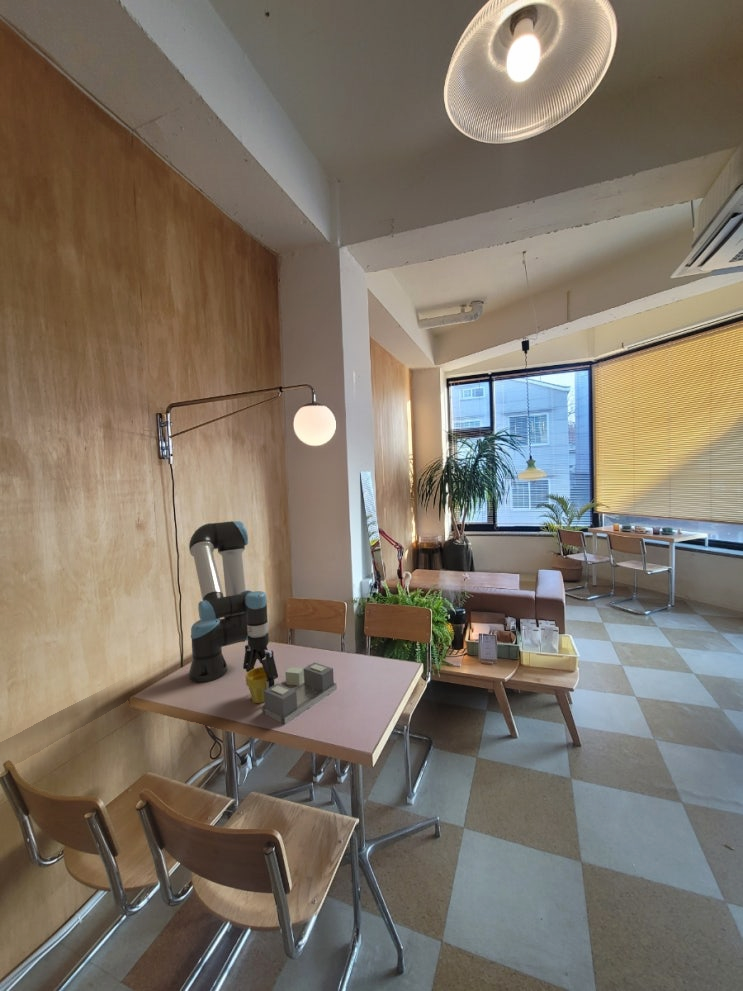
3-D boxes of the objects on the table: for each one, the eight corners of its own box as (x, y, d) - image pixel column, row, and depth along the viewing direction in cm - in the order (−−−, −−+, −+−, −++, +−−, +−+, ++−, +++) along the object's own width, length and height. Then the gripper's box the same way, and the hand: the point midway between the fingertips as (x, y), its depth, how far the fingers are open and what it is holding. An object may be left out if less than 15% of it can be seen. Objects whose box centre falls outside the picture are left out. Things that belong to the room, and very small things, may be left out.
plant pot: (268, 707, 141) (266, 680, 140) (241, 705, 143) (240, 678, 142) (280, 691, 151) (279, 666, 151) (255, 690, 153) (254, 665, 153)
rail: (262, 712, 137) (261, 707, 137) (314, 680, 158) (314, 675, 158) (285, 724, 130) (284, 718, 130) (336, 688, 151) (336, 683, 151)
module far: (304, 683, 152) (303, 667, 152) (315, 677, 157) (314, 661, 157) (323, 690, 146) (322, 674, 146) (333, 683, 151) (332, 667, 151)
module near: (264, 707, 137) (263, 689, 137) (278, 699, 142) (277, 682, 142) (283, 716, 131) (282, 697, 131) (297, 707, 136) (296, 689, 136)
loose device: (286, 684, 157) (285, 671, 156) (290, 679, 160) (290, 667, 160) (299, 685, 155) (298, 673, 155) (304, 680, 159) (303, 668, 159)
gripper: (231, 631, 150) (234, 688, 151) (269, 643, 136) (273, 706, 137) (247, 625, 156) (250, 679, 157) (286, 636, 142) (289, 696, 143)
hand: (261, 692), depth 147 cm, fingers closed on plant pot, 10 cm apart
